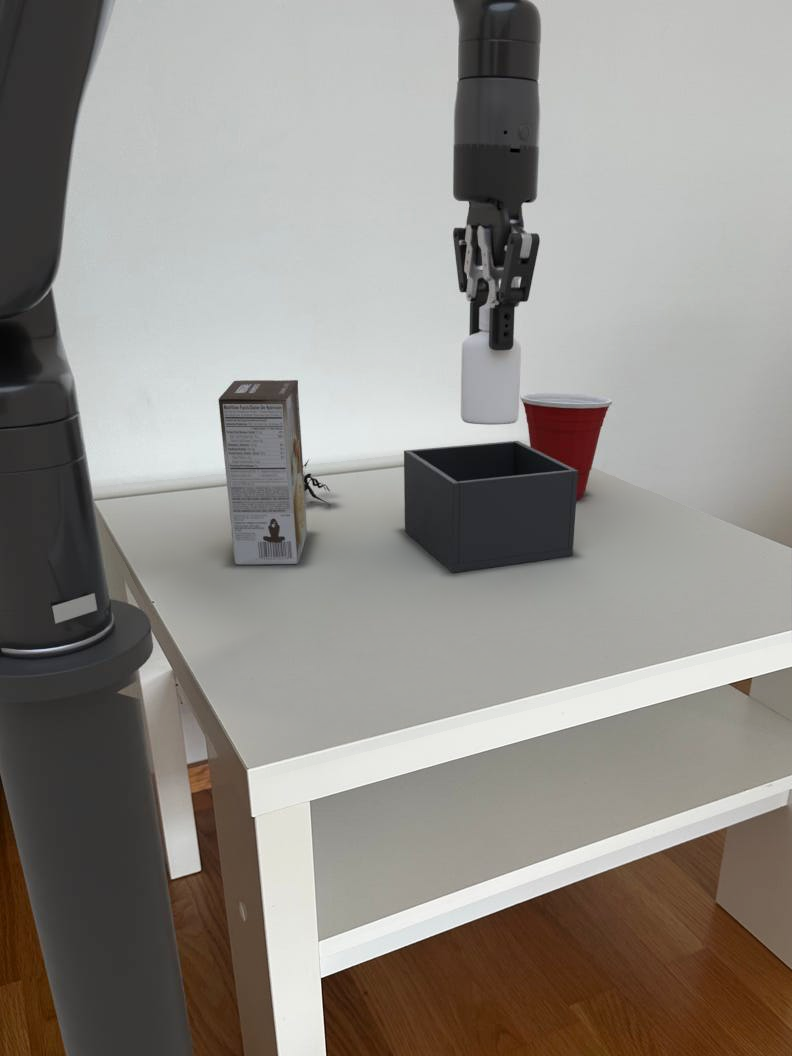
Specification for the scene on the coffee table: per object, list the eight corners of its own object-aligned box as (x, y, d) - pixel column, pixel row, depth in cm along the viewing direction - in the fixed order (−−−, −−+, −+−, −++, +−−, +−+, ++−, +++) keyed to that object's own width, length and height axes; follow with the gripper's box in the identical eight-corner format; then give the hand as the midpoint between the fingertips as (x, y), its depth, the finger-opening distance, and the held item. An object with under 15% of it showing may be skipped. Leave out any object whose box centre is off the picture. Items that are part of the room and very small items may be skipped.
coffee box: (247, 534, 98) (232, 378, 91) (308, 534, 99) (299, 379, 92) (233, 566, 90) (216, 396, 83) (300, 565, 91) (289, 397, 84)
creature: (307, 497, 114) (250, 495, 109) (313, 453, 113) (255, 449, 107) (345, 513, 109) (287, 511, 104) (352, 467, 108) (293, 462, 102)
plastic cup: (607, 485, 118) (615, 389, 113) (602, 510, 109) (610, 406, 104) (522, 479, 120) (526, 384, 115) (509, 503, 110) (513, 400, 105)
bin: (452, 573, 90) (453, 483, 86) (404, 531, 100) (403, 450, 97) (572, 555, 95) (578, 470, 91) (514, 518, 106) (517, 440, 102)
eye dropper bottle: (472, 414, 95) (475, 288, 90) (524, 420, 93) (529, 291, 88) (453, 422, 91) (455, 291, 86) (506, 428, 89) (511, 295, 84)
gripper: (426, 143, 86) (426, 337, 93) (492, 136, 74) (486, 359, 82) (499, 147, 89) (494, 335, 96) (574, 141, 77) (561, 355, 85)
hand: (490, 345), depth 89 cm, fingers closed on eye dropper bottle, 4 cm apart
